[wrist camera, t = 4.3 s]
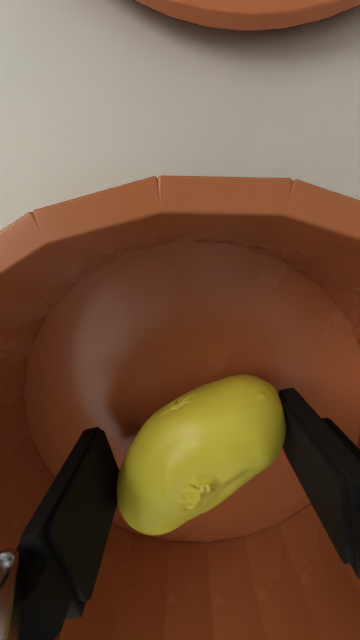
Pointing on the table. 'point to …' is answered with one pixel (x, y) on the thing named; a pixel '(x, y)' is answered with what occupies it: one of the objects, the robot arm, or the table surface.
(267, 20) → the lid
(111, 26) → the table surface
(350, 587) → the pot
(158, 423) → the lemon
